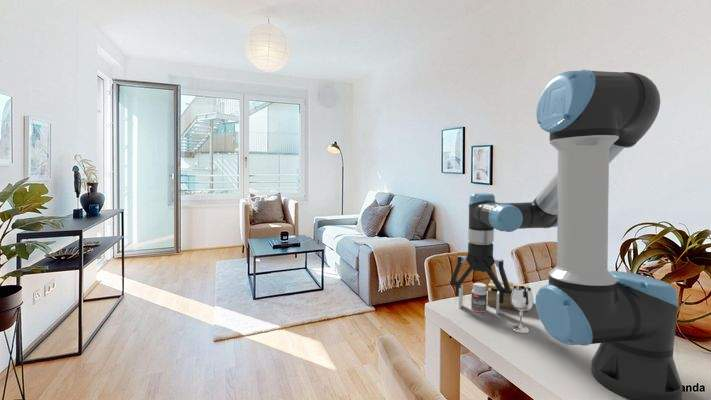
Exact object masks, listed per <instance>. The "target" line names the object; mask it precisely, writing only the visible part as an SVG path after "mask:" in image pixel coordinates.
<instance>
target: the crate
mask: <svg viewBox="0 0 711 400" xmlns="http://www.w3.org/2000/svg"><path fill="white" fill-rule="evenodd" d="M497 291H498V289H494V288H488V290H487V306H488V305H489V307H494V308H496V300H497ZM511 292H512V291H510V292H509V293H504V301H503V304H502V303H500V308H501V309H506V310H507V309H508V310H512V311H513V310H514V311H518V310H517V309H515V308H514V307H513V306H512V304H511ZM500 308H499V309H500ZM524 312H525V313H528V310H527V311H524Z"/></svg>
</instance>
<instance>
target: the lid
mask: <svg viewBox="0 0 711 400" xmlns="http://www.w3.org/2000/svg"><path fill="white" fill-rule="evenodd" d="M499 282H500V283H501V285H502V287H503V288H505V287H504V284H503V281H502V280H501V281H500V280H499ZM508 283H509V286H510V291H512V289H513V287H514V286H526V287H529V284H525V283H518V282H512V281H508ZM487 288H488V289H489V288H494V289H497V288H496V286H495V284H494V283H493V281H492V280H491V279H490V281H489V282H488V285H487ZM529 288H530V287H529Z"/></svg>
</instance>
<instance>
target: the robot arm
mask: <svg viewBox="0 0 711 400" xmlns="http://www.w3.org/2000/svg"><path fill="white" fill-rule="evenodd" d="M536 106H537V107H536V113H535V114H536V121H537V124H538V125H539V127H540V129H542V131H545V132H547V133H549V144H550V145H551V146H552V147H554V148H555V149H556V151H557V171H556V173H555V174H554V175H553V177H552V178H551V179H550V180H549V181H548V183H547V184H546V185H545V186H544V188H543V189H542V190H541V191H540V193H539V194H538V195H537V196H536V198H534V200H533V201H528V202H496V196H495V195H494V193H488V192H486V193H485V192H484V193H483V192H481V193H480V192H477V193H476V192H475V193H471V194H470V195H469V203H468V237H467V239H468V242H467V256H463V255H461V254H460V255H458V257H457V258H456V259H457V262H456V263H457V264H456V267H455V269H454V272H453V274H452V277H451V279H450V281H449V284H450V285H453V286H454V287H455V296H456V297H458V308H462V307H463V299H464V298H463V297H464V296H463V295H464V286H463V285H462V284H463V283H464V281H465V280H466V278H467V277H468V276H469V274H470V273H471V272H472V271H474V272H481V273H485V272H486V274H487V275H488V276H489V278H490V281H491V280H492V281H493V283H494V284H495V286H496V288H497V289H498V291H497V300H496V307H495V314H496V315H499V314H500V303H502V304H503V301H504V293H509V292H510V286H509V283H508V282H509V279H508V277H507V274H506V271H505V268H504V264H505V263H504V260H503V259H495V258H494V236H495V235H494V234H495V231H494V230H497V231H499V232H505V233H511V232H512V233H513V232H515V231H516V230H520V229H522V230H524V229H550V228H556V227H557V231H556V232H557V233H556V234H557V235H556V236H557V237H556V238H557V240H556V242H557V245H556V249H557V250H556V251H557V252H556V253H557V254H556V255H557V256H556V266H555V267H554V268H552V269H551V270H550V271H549V272H548V284H546V285H543V286H541V287H540V288H539V289H538V291H537V292H536V296H535V307H536V313H537V315H538V319H539V320H540V322H541V324H542V325H543V327H544V329H545V330H546V332H547V333H548V334H549V335H550V336H551V337H552V338H553V339H555V340H556V341H557V342H559V343H561V344H564V345H566V346H583V347H584V346H589V345H595V344H599V346H598V347H597V350H596V351H595V353H594V354H593V357H592V359H591V365H590V366H591V368H590V372H591V374H592V377H593V378H594V379H595V380H596V381H597V382H599V384H601V385H602V386H604V387H605V388H606V389H608V390H610V391H612V392H613V393H616V394H618V395H620V396H623V397H625V398H628V399H630V400H633V399H634V400H682V397H683V396H682V395H683V384H682V380H681V377H680V374H679V371H678V369H677V365H676V362H675V359H674V350H675V349H674V347H675V338H676V337H675V336H676V326H677V315H678V308H679V305H680V304H679V303H678V301H679V299H678V297H679V296H678V290H677V288H676V287H675V286H673V284H670V283H669V282H666V281H663V280H660V279H657V278H654V277H650V276H646V275H641V274H638V273H633V272H627V271H626V272H625V271H618V270H612V271H609V269H608V266H609V265H608V263H609V262H608V257H609V255H608V251H609V187H610V186H609V185H610V184H609V183H610V182H609V181H610V178H609V177H610V176H609V174H610V173H609V171H610V170H609V169H610V163H611V162H612V161H613V160H614V159H615V158H616V157H617V156H619V155H620V153H621V152H623V150H624V149H630V148H632V147H634V146H635V145H636V144H637V143H638V142H639V141H640V140H641V139H642V138H643V137H644V136H645V135H646V134H647V132H649V130H650V129H651V127H652V126H653V124H654V123H655V121H656V119H657V117H658V114H659V111H660V108H661V95H660V91H659V89H658V87H657V85H656V84H655V83H654V82H653V80H651V79H650V78H648V77H647V76H646V75H643V74H641V73H637V72H631V71H622V72H617V71H603V70H602V71H601V70H599V71H598V70H590V69H582V70H568V71H564V72H561V73H560V74H558V75H556V76H554V77H553V78H551V80H550V81H548V84H546V86H545V88H544V89H543V90H542V92H541V94H540V96H539V99H538V101H537V105H536ZM465 261H466V262H467V263H468V265H469V266H468V267H467V269H466V270H465V271H464V273H463V274H462V275H461V277H460V278H459V279H458V280H457V278H458V275H459V272H460V271H461V267H462V265H463V264H464V263H465ZM493 265H495V266H496V268H498V272H499V274H500V278H501V281H503V284H504V287H505V288H503V287H502V285H501V283H500V282H499V281H500V280H499V279H498V277H497V276H496V273H495V272H494V270H493V268H492V267H493Z"/></svg>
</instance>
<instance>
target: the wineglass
mask: <svg viewBox="0 0 711 400" xmlns="http://www.w3.org/2000/svg"><path fill="white" fill-rule="evenodd" d="M511 304H512V306H513V307H514V308H515V309H517V310H516V311H519V314H518V315H519V324H518V325H513V326H512V327H511V329H512V330H513V331H514V332H517V333H520V334H528V333H529V332H530V330H529V328H528V327H526V326H523V321H522V320H523V316H524V312H525V311H527V312H528V311H530V310H531V309H532V307H533V304H534V295H533V291H532V288H531V287H526V286H514V287H513V289H512V292H511Z"/></svg>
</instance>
